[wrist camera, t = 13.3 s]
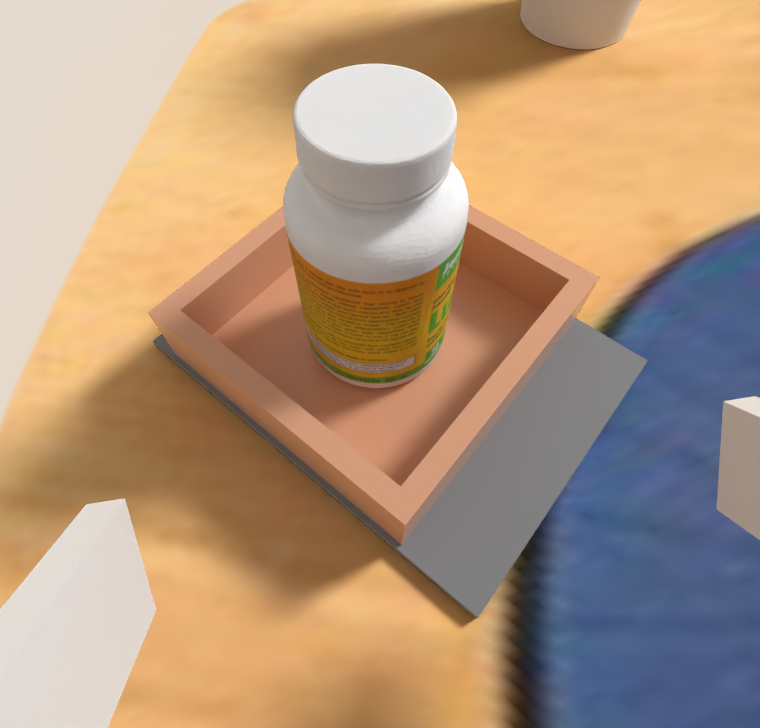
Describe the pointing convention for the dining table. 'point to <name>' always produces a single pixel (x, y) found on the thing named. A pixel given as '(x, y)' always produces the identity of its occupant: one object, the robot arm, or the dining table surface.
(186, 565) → the dining table surface
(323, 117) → the supplement bottle
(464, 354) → the dish
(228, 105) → the dining table surface
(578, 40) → the coffee cup
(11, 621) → the robot arm
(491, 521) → the mat
